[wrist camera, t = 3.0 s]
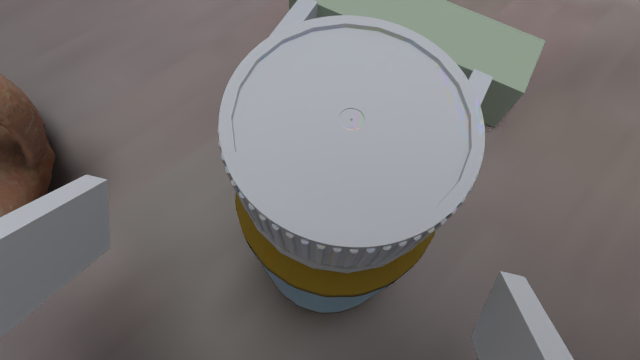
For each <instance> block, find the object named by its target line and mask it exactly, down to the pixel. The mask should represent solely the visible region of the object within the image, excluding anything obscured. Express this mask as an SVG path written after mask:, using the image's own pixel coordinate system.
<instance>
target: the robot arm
mask: <svg viewBox="0 0 640 360" xmlns="http://www.w3.org/2000/svg"><path fill="white" fill-rule="evenodd" d="M109 249H110V231H109V205H108V180H107V179H103V178H99V177H94V176H90V175H84V176H82V177H80V178H78V179H76V180H74V181H72V182H70V183H68V184H66V185H64V186H62V187H60V188H58V189H56V190H54V191H52V192H50V193H48V194H46V195H44V196H42V197H40V198H38V199H36V200H34V201H32V202H30V203H28V204H26V205H24V206H22V207H20V208H18V209H16V210H14V211H12V212H10V213H8V214H6V215H4V216H2V217H0V338H1V337H3V336H4V335H5V334H6V333H7V332H9V331H10V330H11V329H12V328H14V327H15V326H16V325H17V324H18V323H20V322H21V321H22V320H23V319H25V318H26V317H27V316H28V315H29V314H31V313H32V312H33V311H34V310H36V309H37V308H38V307H39V306H40V305H42V304H43V303H44V302H45V301H47V300H48V299H49V298H50V297H51V296H53V295H54V294H55V293H56V292H58V291H59V290H60V289H61V288H62V287H64V286H65V285H66V284H67V283H68V282H70V281H71V280H72V279H73V278H75V277H76V276H77V275H78V274H79V273H81V272H82V271H83V270H84V269H86V268H87V267H88V266H89V265H90V264H92V263H93V262H94V261H95V260H97V259H98V258H99V257H100V256H101V255H103V254H104V253H105V252H106V251H108V250H109ZM471 338H472V342H473V345H474V348H475V352H476V355H477V358H478V360H574V359H573V357H572V356H571V354H570V352H569V351H568V349H567V347H566V346H565V344H564V342H563V341H562V339H561V337H560V336H559V334H558V332H557V331H556V329H555V327H554V325H553V324H552V322H551V320H550V319H549V317H548V315H547V314H546V312H545V310H544V309H543V307H542V305H541V304H540V302H539V300H538V299H537V297H536V295H535V293H534V292H533V290H532V288H531V287H530V285H529V283H528V282H527V280H526V278H525V277H523V276H519V275H515V274H510V273H506V272H502V271H500V272H499V275H498V277H497V279H496V281H495V284H494V286H493V288H492V290H491V293H490V295H489V297H488V299H487V302H486V304H485V306H484V308H483V311H482V313H481V315H480V317H479V320H478V322H477V324H476V326H475V329H474V331H473V333H472V335H471Z"/></svg>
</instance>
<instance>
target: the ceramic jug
mask: <svg viewBox="0 0 640 360" xmlns="http://www.w3.org/2000/svg"><path fill="white" fill-rule="evenodd" d="M55 158H56V155H55V153H54V152H53V150H52V149H51V147H50V144H49V142H48V138H47V135H46V132H45V125H44V122H43V120H42V118H41V116H40V114H39V112H38V111H37V109H36V108H35V106H34V105H33V104H32V102H31V101H30V100H29V98H28V97H27V96H26V95H25V93H24V92H23V91H22V90H21V89H20V88H18V87H17V86H16V85H15V84H14V83H12V82H11V81H10V80H8V79H7V78H6V77H4V76H3V75H1V74H0V217H2V216H4V215H6V214H8V213H10V212H12V211H14V210H16V209H18V208H20V207H22V206H24V205H26V204H28V203H30V202H32V201H34V200H36V199H38V198H40V197H42V196H44V195H46V194H47V192H48V188H49V185H50V182H51V179H52V170H53V165H54V161H55Z"/></svg>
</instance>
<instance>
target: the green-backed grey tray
mask: <svg viewBox="0 0 640 360" xmlns="http://www.w3.org/2000/svg"><path fill="white" fill-rule="evenodd" d="M289 9H290V10H289V12H288V13H287V14H286V16H285V17H284V18H283V20H282V21H281V22H280V23H279V25H278V26H277V27H276V29H275V30H274V31H273V32H272V34H271V35H270V36H272V35H273V34H275V33H277V32H279V31H281V30H283V29H285V28H287V27H289V26H292V25H294V24H297V23H300V22H303V21H307V20H310V19H315V18H320V17H327V16H338V15H354V16H365V17H372V18H377V19H381V20H385V21H389V22H392V23H395V24H398V25H401V26H403V27H406V28H408V29H410V30H412V31H414V32H416V33H418V34H420V35H422V36H423V37H425V38H427V39H428V40H430V41H431V42H433V43H434V44H435V45H437V46H438V47H439V48H441V49H442V50H443V51H444V52H445V53H446V54H447V55H449V56H450V57H451V58H452V59H453V61H454V62H455V63H456V64H457V65H458V66H459V67H460V69H461V70H462V71H463V73H464V74H465V75H466V77H467V79H468V80H469V82H470V83H471V85H472V87H473V89H474V91H475V93H476V96H477V98H478V101H479V103H480V107H481V110H482V114H483V119H484V123H485V124H487V125H489V126H491V127H495V126H496V125H497V123H498V122H499V121H500V120H501V119H502V118H503V117H504V115H505V114H506V113H507V112H508V111H509V110H510V109H511V108H512V106H513V105H514V104H515V103H516V102H517V101H518V100H519V98H520V97H521V96H522V95H523V94H524V92H525V90H526V88H527V85H528V83H529V80H530V78H531V75H532V73H533V70H534V68H535V65H536V63H537V60H538V58H539V55H540V53H541V50H542V48H543V46H544V43H545V40H543V39H540V38H538V37H535V36H533V35H530V34H528V33H525V32H523V31H520V30H518V29H515V28H513V27H510V26H508V25H505V24H503V23H501V22H498V21H496V20H493V19H491V18H488V17H486V16H483V15H481V14H478V13H476V12H473V11H471V10H468V9H466V8H463V7H461V6H458V5H456V4H453V3H451V2H448V1H446V0H289ZM270 36H269V37H270Z"/></svg>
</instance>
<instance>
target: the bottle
mask: <svg viewBox="0 0 640 360" xmlns="http://www.w3.org/2000/svg"><path fill="white" fill-rule="evenodd" d="M218 134H219V138H220V140H219V142H218V143H219V147H220V150H221V152H222V154H221V159H222V161H223V163H224V165H225V170H226V173H227V175H228V177H229V179H230V181H231V183H232V185H233V187H234V189H235V191H236V199H235V203H236V211H237V214H238V218H239V221H240V225H241V228H242V232H243V234H244V236H245V238H246V241H247V243H248V245H249V246H250V248H251V249H252V251H253V252H254V254H255V255H256V256H257V258H258V259H259V261H260V262H261V264H262V265H263V267H264V268H265V270H266V271H267V273H268V274H269V276H270V277H271V279H272V280H273V282H274V283H275V284H276V286H277V287H278V289H279V290H280V292H281V293H282V294H283V295H284V296H286V297H287V298H288V299H290V300H291V301H293V302H294V303H295V304H297V305H298V306H300V307H302V308H306V309H309V310H312V311H315V312H321V313H326V312H341V311H344V310H347V309H350V308H352V307H355V306H357V305H359V304H361V303H362V302H364V301H366V300H367V299H369V298H370V297H372V296H373V295H375V294H376V293H378V292H380V291H381V290H383V289H384V288H386V287H387V286H389V285H391V284H392V283H394V282H395V281H396V280H397V279H399V278H400V277H401V276H402V275H403V274H405V273H406V272H407V271H408V270H409V269H411V268H412V267H413V266H414V265H415V264H416V263H417V262H418V260H419V259H420V258H421V257H422V255H423V254H424V252H425V250H426V248H427V247H428V245H429V243H430V242H431V240H432V238H433V236H434V234H435V231H436V230H437V229H438V228H439V227H440V226H441V225H442V224H444V223H445V222H446V220H448V219H449V218H450V217H451V216H452V215H453V214H454V213H455V212H456V211H457V208H458V207H459V206H460V205H462V204H463V203H464V201H465V200H466V197H465V196H466V195H467V194H468V193H469V192H471V190H472V188H473V183H474V181H475V180H476V179H477V176H478V172H479V169H480V166H481V163H482V159H483V154H484V146H485V127H484V119H483V114H482V110H481V107H480V103H479V101H478V98H477V96H476V93H475V91H474V89H473V87H472V85H471V83H470V82H469V80H468V79H467V77H466V75H465V74H464V73H463V71H462V70H461V69H460V67H459V66H458V65H457V64H456V63H455V62H454V61H453V59H452V58H451V57H450V56H449V55H447V54H446V53H445V52H444V51H443V50H442V49H441V48H439V47H438V46H437V45H435V44H434V43H433V42H431V41H430V40H428V39H427V38H425V37H423V36H422V35H420V34H418V33H416V32H414V31H412V30H410V29H408V28H406V27H403V26H401V25H398V24H395V23H392V22H389V21H385V20H381V19H377V18H372V17H365V16H354V15H338V16H327V17H320V18H315V19H310V20H307V21H303V22H300V23H297V24H294V25H292V26H289V27H287V28H285V29H283V30H281V31H279V32H277V33H275V34H273V35H272V36H270V37H269V38H267V39H266V40H264V41H263V42H262V43H260V44H259V45H258V46H257V47H255V48H254V49H253V50H252V51H251V52H250V53H249V54H248V55H247V56H246V57H245V58H244V60H243V61H242V62H241V63H240V65H239V66H238V67H237V69H236V70H235V72H234V73H233V75H232V77H231V79H230V81H229V83H228V85H227V87H226V90H225V92H224V95H223V99H222V102H221V107H220V114H219V128H218Z"/></svg>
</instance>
